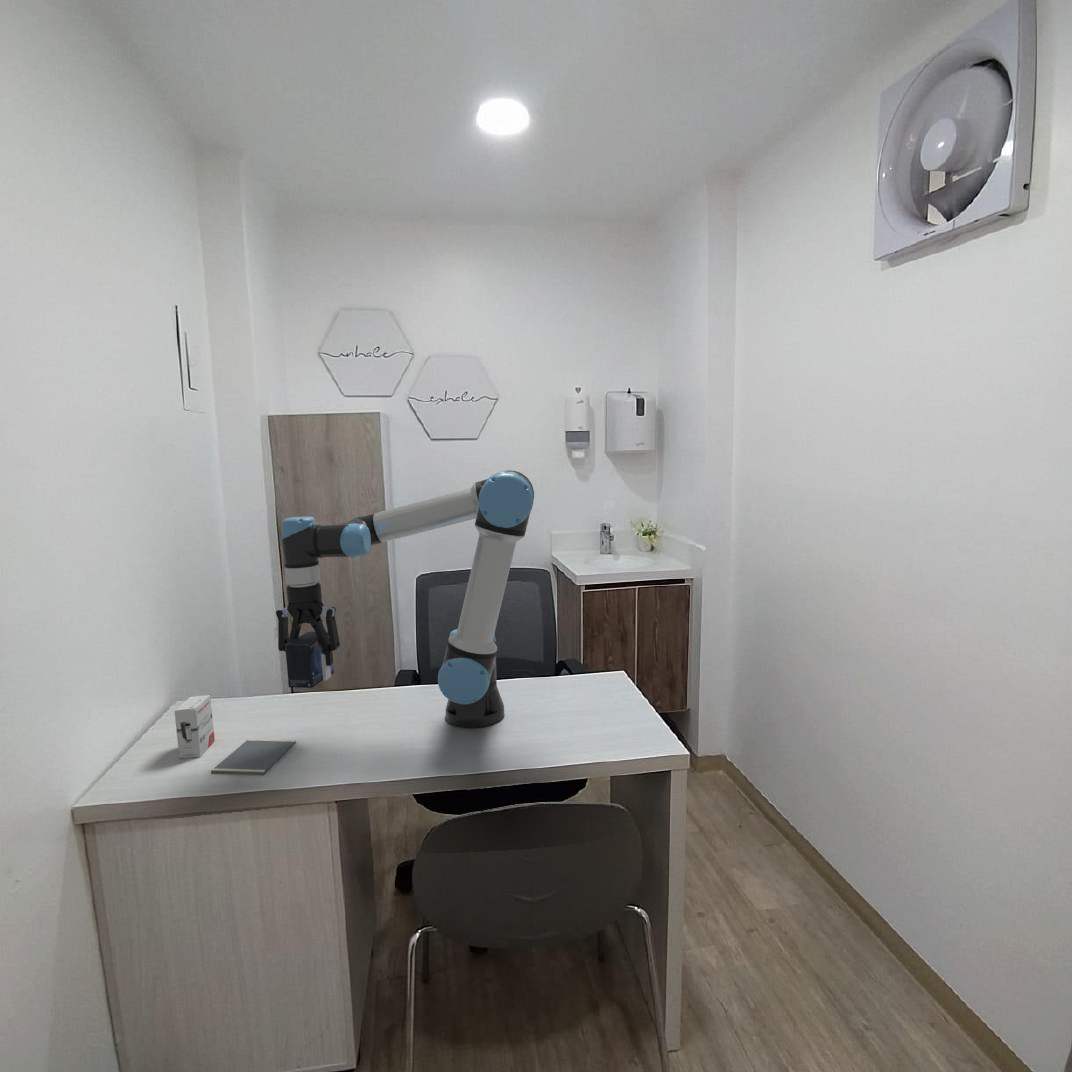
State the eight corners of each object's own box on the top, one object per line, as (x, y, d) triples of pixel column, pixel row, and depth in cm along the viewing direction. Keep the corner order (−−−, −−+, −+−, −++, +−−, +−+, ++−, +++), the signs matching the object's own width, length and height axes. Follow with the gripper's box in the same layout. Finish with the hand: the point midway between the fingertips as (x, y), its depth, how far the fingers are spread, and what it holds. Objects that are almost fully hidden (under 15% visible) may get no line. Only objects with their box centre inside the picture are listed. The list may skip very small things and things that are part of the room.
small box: (313, 688, 146) (308, 644, 145) (287, 688, 147) (282, 644, 146) (336, 672, 156) (331, 630, 155) (311, 672, 158) (307, 631, 156)
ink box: (194, 741, 155) (190, 695, 153) (215, 740, 155) (211, 694, 154) (178, 759, 146) (172, 709, 145) (200, 757, 147) (195, 708, 145)
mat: (296, 742, 153) (295, 740, 153) (263, 774, 138) (263, 771, 138) (248, 741, 154) (248, 738, 154) (211, 773, 139) (210, 770, 139)
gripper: (350, 579, 151) (358, 672, 155) (271, 580, 153) (280, 673, 157) (337, 586, 144) (346, 684, 147) (254, 587, 146) (264, 684, 149)
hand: (312, 678), depth 152 cm, fingers closed on small box, 7 cm apart
